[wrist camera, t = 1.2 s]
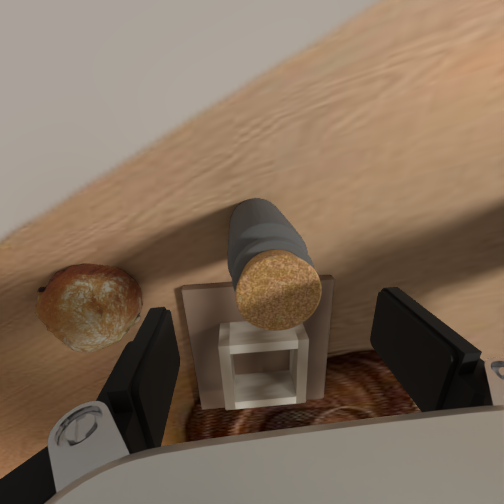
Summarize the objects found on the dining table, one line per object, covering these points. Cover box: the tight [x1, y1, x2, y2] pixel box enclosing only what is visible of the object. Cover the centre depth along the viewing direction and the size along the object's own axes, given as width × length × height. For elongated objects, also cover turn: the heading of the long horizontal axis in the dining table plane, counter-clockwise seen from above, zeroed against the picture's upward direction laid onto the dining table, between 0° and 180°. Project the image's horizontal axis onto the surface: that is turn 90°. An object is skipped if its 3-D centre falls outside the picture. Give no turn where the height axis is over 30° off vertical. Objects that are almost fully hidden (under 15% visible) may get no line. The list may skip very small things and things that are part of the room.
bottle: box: [228, 198, 322, 331], centre depth 20 cm, size 6×6×15 cm
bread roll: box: [35, 264, 143, 352], centre depth 27 cm, size 10×10×8 cm
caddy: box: [182, 275, 334, 410], centre depth 31 cm, size 18×20×5 cm
